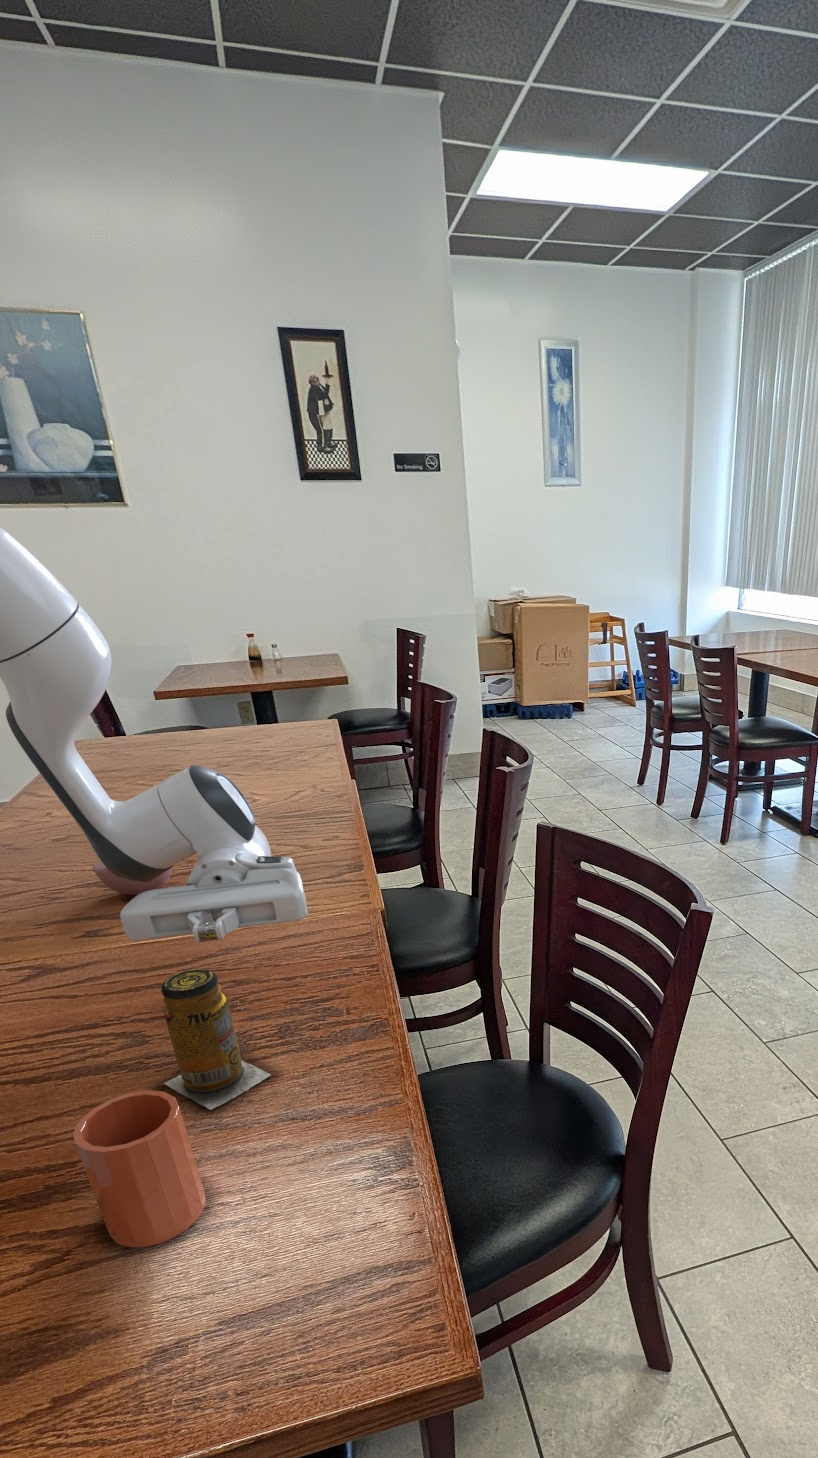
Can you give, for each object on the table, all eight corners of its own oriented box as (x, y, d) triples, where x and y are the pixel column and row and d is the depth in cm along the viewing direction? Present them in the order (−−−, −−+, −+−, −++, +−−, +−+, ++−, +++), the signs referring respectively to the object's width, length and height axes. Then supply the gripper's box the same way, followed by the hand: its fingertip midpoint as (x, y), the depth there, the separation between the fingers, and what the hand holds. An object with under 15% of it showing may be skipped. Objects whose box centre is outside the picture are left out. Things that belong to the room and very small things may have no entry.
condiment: (224, 1052, 92) (199, 957, 87) (271, 1076, 87) (248, 977, 82) (164, 1085, 87) (133, 986, 81) (211, 1112, 82) (182, 1010, 77)
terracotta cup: (97, 1255, 66) (59, 1158, 61) (122, 1190, 73) (89, 1098, 68) (197, 1237, 67) (167, 1141, 63) (212, 1175, 74) (186, 1084, 70)
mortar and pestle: (108, 885, 140) (88, 820, 135) (183, 874, 143) (167, 810, 138) (98, 911, 129) (76, 842, 124) (179, 899, 133) (162, 831, 128)
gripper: (130, 874, 99) (97, 921, 87) (304, 855, 102) (296, 897, 90) (144, 921, 102) (114, 973, 89) (313, 901, 105) (307, 948, 93)
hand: (207, 935), depth 90 cm, fingers closed
